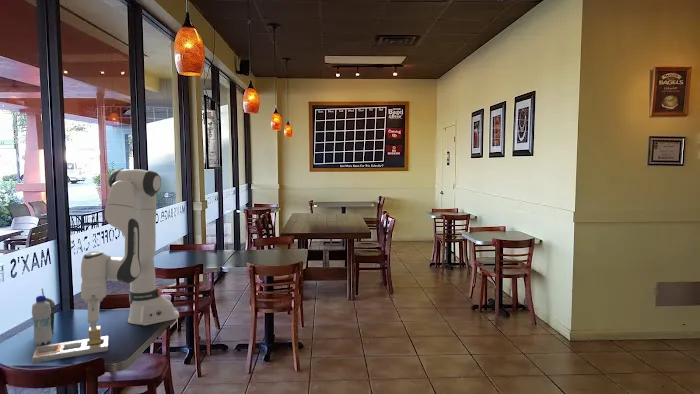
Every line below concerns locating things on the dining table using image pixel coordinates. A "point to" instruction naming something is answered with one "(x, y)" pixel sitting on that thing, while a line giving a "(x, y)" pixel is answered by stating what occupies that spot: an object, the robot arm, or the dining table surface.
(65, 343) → the white slotted tray
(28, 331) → the dining table surface
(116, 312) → the dining table surface
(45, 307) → the bottle
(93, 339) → the brass peg
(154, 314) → the robot arm
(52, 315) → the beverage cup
